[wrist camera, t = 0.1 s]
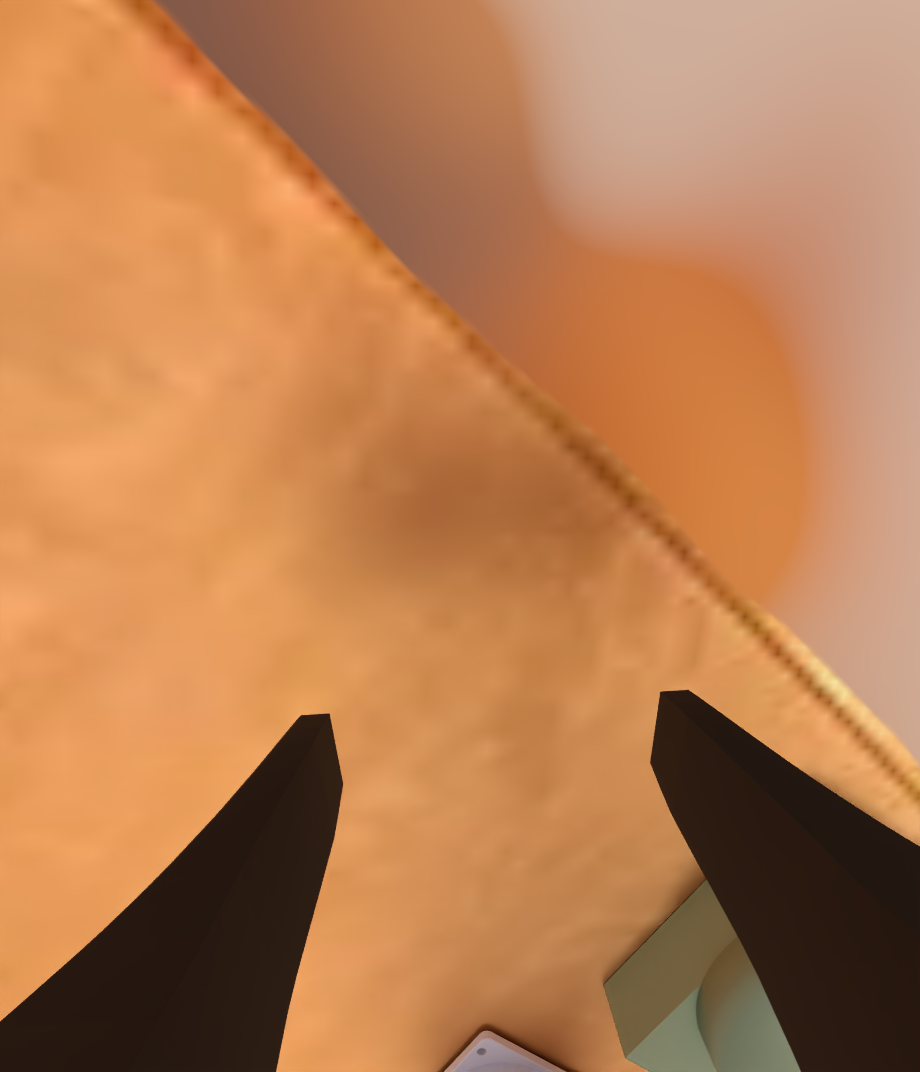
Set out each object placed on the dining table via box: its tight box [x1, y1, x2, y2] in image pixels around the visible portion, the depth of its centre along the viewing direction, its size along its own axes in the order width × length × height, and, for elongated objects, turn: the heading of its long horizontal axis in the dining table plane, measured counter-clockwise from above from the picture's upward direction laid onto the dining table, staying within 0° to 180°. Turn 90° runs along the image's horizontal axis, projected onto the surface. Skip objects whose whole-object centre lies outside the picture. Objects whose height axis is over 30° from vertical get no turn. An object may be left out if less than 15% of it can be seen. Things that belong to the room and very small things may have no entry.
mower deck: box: [604, 879, 801, 1072], centre depth 22 cm, size 16×21×5 cm
